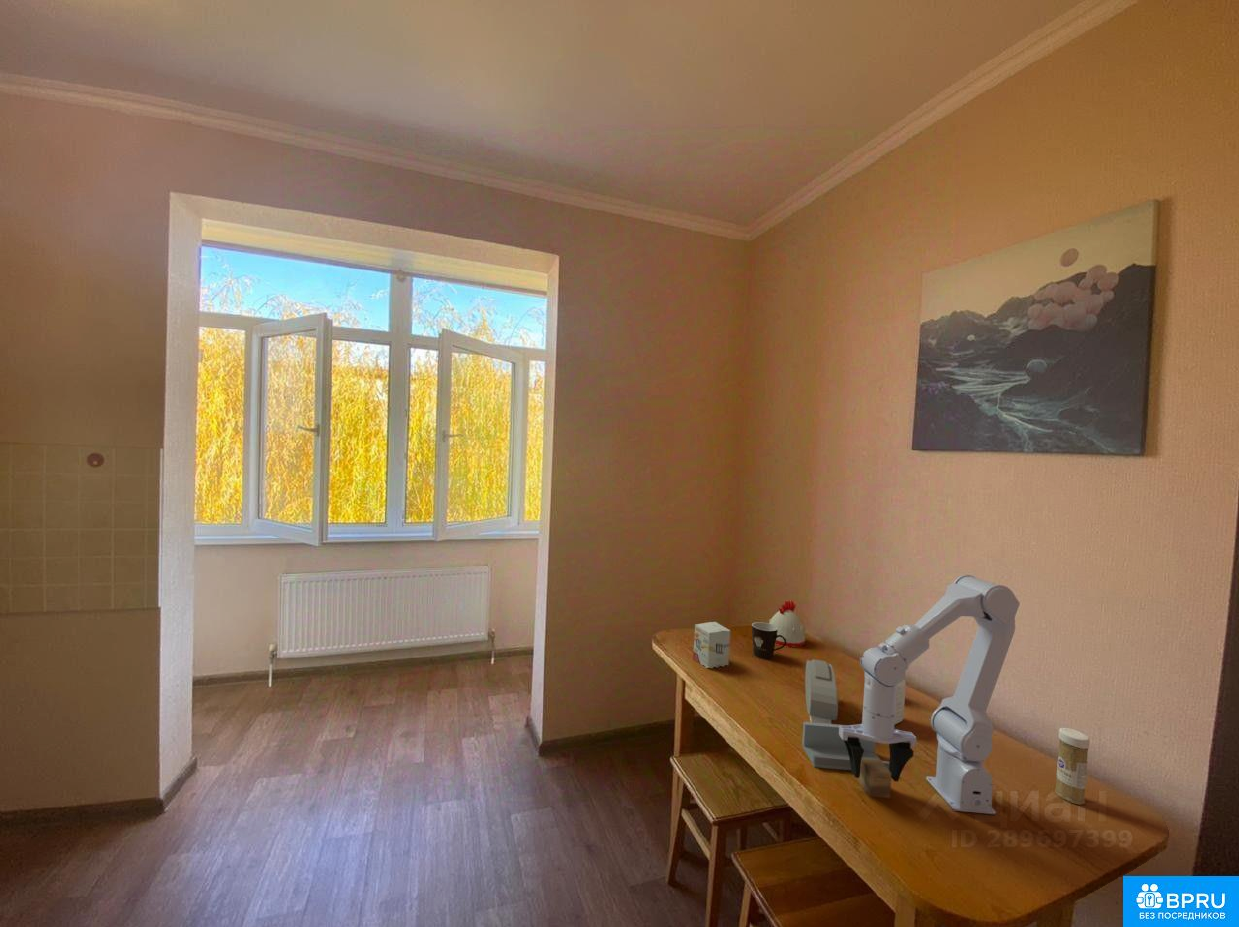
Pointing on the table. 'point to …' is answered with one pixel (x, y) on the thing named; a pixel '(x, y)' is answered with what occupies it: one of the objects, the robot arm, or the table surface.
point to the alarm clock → (821, 692)
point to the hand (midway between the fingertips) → (874, 776)
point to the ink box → (711, 644)
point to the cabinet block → (875, 778)
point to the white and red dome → (788, 626)
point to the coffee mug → (765, 639)
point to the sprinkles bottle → (1072, 765)
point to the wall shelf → (831, 746)
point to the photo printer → (900, 702)
